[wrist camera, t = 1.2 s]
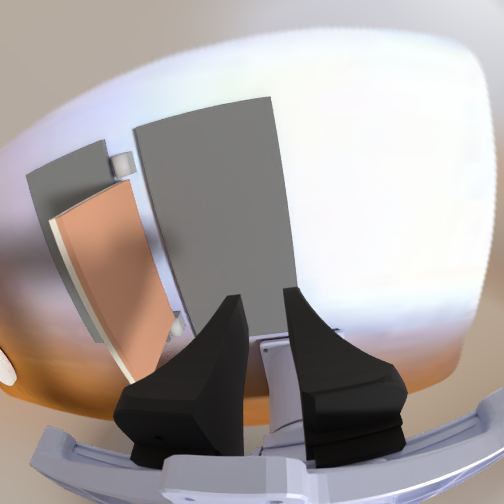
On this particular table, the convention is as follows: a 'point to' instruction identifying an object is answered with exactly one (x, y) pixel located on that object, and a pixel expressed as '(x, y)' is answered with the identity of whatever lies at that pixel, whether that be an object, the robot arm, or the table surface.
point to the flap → (116, 277)
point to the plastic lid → (6, 371)
